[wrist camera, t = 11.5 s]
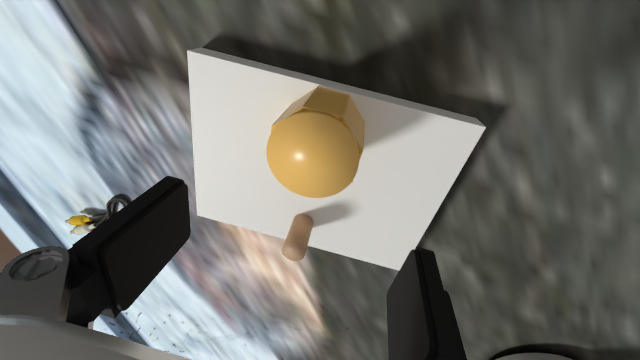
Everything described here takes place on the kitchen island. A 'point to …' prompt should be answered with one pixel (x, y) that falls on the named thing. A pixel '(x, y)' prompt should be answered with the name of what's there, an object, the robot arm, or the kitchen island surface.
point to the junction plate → (337, 210)
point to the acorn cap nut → (317, 144)
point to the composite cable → (95, 217)
